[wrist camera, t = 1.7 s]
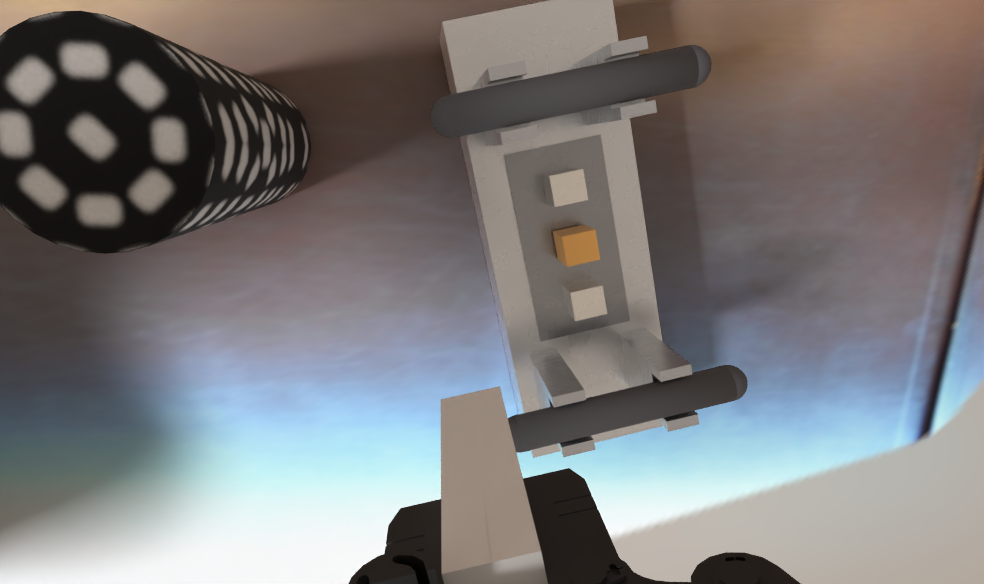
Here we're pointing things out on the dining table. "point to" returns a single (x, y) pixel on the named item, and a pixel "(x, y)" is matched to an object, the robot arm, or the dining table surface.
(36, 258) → the dining table surface
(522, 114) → the dark grey rod
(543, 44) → the white parts holder tray
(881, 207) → the dining table surface
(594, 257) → the breaker paddle
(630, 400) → the dark grey bar handle
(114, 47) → the spotted tube
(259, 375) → the dining table surface
